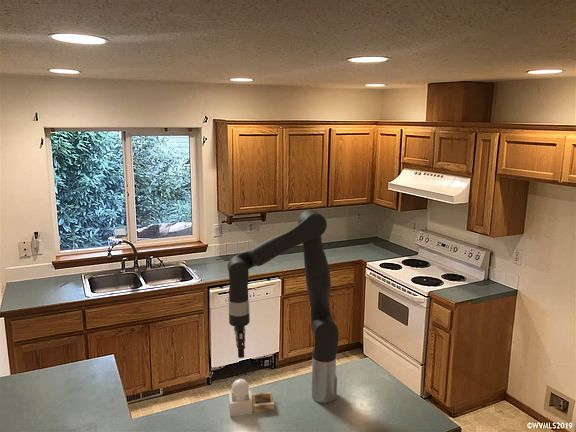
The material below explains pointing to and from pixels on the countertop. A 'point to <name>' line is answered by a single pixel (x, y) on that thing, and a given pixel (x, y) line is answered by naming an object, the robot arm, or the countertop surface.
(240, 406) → the cream open cubby box
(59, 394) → the countertop surface
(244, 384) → the lightbulb
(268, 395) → the wooden frame
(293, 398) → the countertop surface
